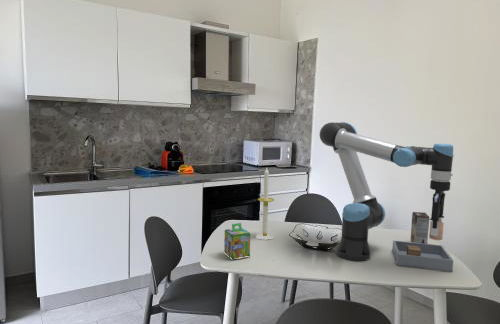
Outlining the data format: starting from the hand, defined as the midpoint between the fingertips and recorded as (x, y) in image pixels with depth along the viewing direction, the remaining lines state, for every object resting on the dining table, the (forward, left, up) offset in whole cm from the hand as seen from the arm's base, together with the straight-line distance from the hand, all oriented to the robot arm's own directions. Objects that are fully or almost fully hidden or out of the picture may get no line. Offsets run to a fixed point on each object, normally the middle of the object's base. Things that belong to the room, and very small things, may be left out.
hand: (435, 233), depth 159 cm
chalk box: (-84, -15, -15) cm, 87 cm away
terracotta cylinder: (0, 0, -2) cm, 2 cm away
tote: (-4, +6, -15) cm, 16 cm away
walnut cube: (-7, +6, -14) cm, 17 cm away
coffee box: (-1, +29, -15) cm, 32 cm away
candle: (-78, +15, -15) cm, 81 cm away
